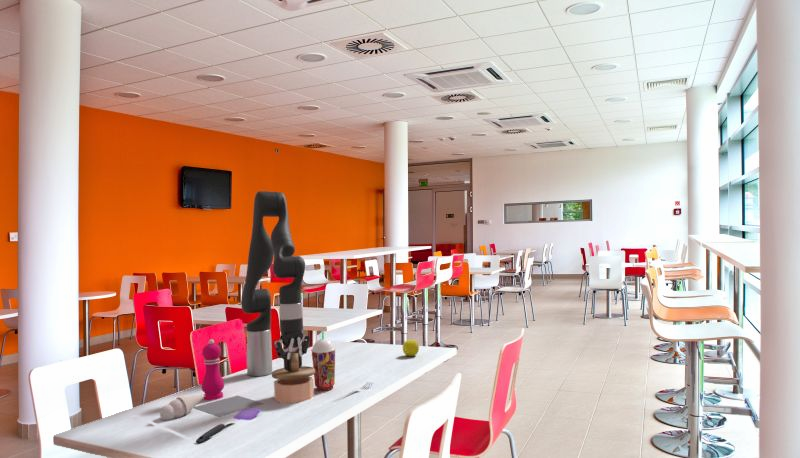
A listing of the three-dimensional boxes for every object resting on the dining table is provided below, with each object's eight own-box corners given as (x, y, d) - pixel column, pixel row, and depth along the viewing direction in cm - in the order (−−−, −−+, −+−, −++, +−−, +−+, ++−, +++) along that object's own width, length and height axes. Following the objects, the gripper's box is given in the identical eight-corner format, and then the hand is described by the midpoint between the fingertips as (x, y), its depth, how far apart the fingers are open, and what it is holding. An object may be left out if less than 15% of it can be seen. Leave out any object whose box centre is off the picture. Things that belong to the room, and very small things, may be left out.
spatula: (207, 446, 148) (206, 437, 148) (186, 444, 151) (186, 434, 151) (262, 417, 170) (262, 409, 170) (243, 415, 173) (243, 407, 173)
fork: (322, 405, 180) (321, 399, 180) (367, 386, 200) (367, 381, 200) (329, 407, 178) (329, 401, 178) (374, 387, 199) (374, 382, 199)
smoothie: (332, 392, 194) (330, 333, 194) (309, 391, 195) (307, 333, 195) (340, 385, 202) (337, 329, 202) (317, 385, 203) (315, 329, 204)
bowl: (267, 400, 187) (266, 382, 187) (297, 391, 196) (297, 374, 196) (290, 406, 179) (289, 387, 179) (321, 397, 188) (320, 379, 188)
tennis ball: (402, 354, 249) (401, 338, 249) (417, 353, 250) (417, 337, 250) (403, 358, 242) (403, 341, 242) (420, 357, 243) (419, 340, 243)
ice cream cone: (208, 408, 180) (164, 430, 168) (198, 394, 183) (154, 415, 171) (213, 396, 177) (168, 417, 166) (202, 382, 180) (157, 402, 168)
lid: (263, 375, 187) (262, 354, 187) (297, 367, 197) (296, 347, 197) (289, 381, 178) (288, 359, 178) (323, 372, 188) (323, 351, 188)
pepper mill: (229, 396, 193) (226, 337, 193) (215, 402, 186) (213, 341, 187) (211, 395, 196) (209, 337, 196) (197, 401, 189) (195, 341, 189)
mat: (192, 409, 180) (192, 407, 180) (237, 397, 192) (237, 395, 192) (219, 418, 169) (219, 416, 169) (265, 405, 181) (264, 403, 181)
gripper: (301, 313, 195) (303, 363, 195) (266, 319, 185) (268, 372, 185) (315, 314, 190) (317, 366, 190) (280, 320, 180) (282, 375, 180)
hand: (293, 368), depth 188 cm, fingers closed on lid, 3 cm apart
